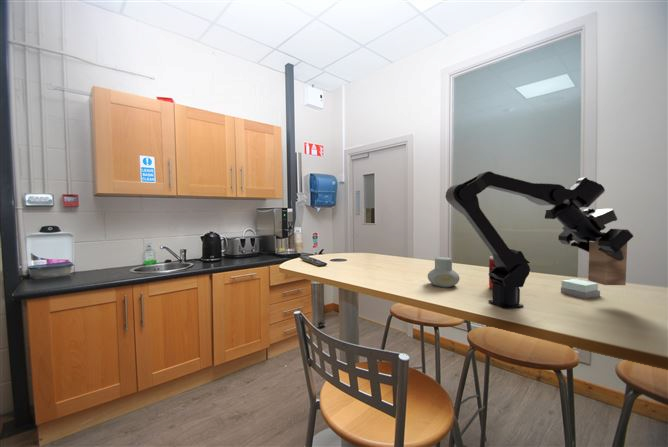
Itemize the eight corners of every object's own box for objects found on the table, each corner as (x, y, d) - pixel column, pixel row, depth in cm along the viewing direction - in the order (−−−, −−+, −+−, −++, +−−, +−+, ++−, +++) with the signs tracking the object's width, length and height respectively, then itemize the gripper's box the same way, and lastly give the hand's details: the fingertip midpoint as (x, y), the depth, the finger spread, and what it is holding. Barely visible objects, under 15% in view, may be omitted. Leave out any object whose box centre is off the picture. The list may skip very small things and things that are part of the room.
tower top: (585, 292, 89) (585, 285, 89) (561, 287, 95) (561, 280, 95) (597, 290, 91) (598, 283, 91) (573, 285, 98) (574, 278, 97)
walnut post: (604, 285, 80) (606, 238, 79) (588, 280, 86) (589, 236, 85) (625, 285, 80) (627, 238, 79) (607, 280, 85) (609, 236, 85)
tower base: (584, 300, 89) (584, 292, 89) (560, 293, 96) (560, 287, 95) (600, 297, 91) (600, 290, 91) (575, 291, 98) (575, 285, 98)
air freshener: (457, 283, 109) (457, 256, 109) (461, 289, 101) (461, 260, 101) (426, 281, 112) (426, 256, 111) (428, 287, 103) (428, 259, 103)
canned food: (507, 286, 104) (507, 255, 103) (519, 292, 96) (519, 259, 96) (484, 285, 105) (485, 255, 104) (495, 292, 97) (495, 259, 96)
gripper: (627, 197, 72) (670, 241, 73) (569, 200, 91) (603, 235, 91) (593, 229, 73) (637, 272, 73) (542, 225, 92) (577, 259, 92)
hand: (612, 257), depth 82 cm, fingers closed on walnut post, 5 cm apart
